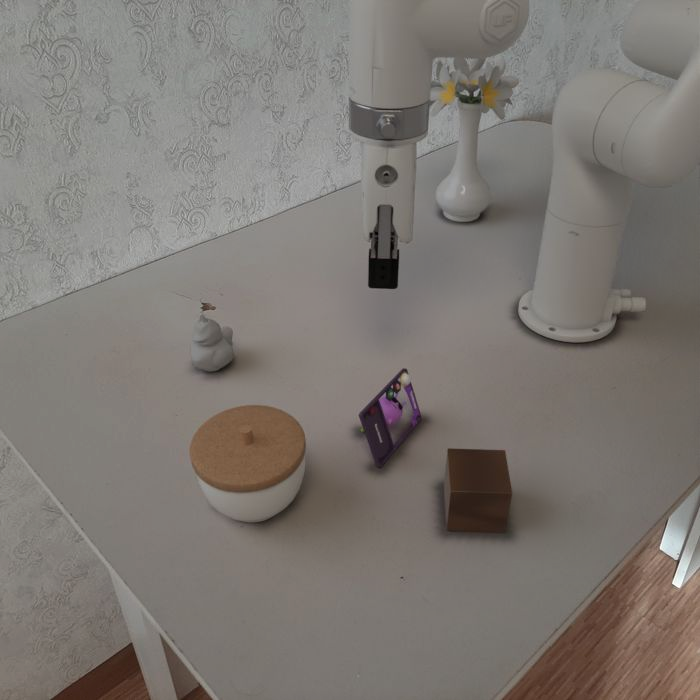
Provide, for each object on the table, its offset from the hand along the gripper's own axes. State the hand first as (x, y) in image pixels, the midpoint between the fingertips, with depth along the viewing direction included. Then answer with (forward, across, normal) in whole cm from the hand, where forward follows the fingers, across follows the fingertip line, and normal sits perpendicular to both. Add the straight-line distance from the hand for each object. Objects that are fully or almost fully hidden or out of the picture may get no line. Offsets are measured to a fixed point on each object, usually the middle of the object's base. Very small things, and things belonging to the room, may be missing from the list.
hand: (382, 284), depth 78 cm
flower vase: (+13, +45, -13) cm, 49 cm away
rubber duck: (+14, +2, +20) cm, 25 cm away
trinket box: (+14, -19, +12) cm, 26 cm away
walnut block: (+13, -20, -10) cm, 26 cm away
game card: (+13, -10, -1) cm, 17 cm away
